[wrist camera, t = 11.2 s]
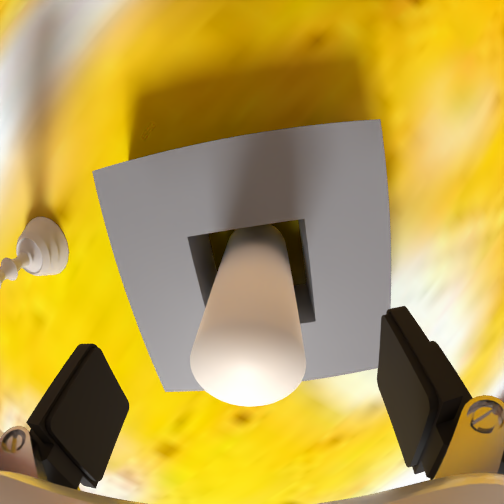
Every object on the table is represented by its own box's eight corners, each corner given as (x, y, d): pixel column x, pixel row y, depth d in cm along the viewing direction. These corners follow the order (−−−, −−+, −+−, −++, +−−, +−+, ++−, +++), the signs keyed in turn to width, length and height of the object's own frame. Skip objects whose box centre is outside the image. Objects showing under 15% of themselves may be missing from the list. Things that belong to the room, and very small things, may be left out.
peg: (221, 226, 21) (176, 326, 10) (282, 216, 21) (300, 311, 10) (233, 280, 23) (206, 409, 11) (290, 272, 22) (309, 399, 11)
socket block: (128, 162, 20) (92, 171, 15) (353, 122, 19) (380, 119, 14) (180, 350, 25) (165, 391, 20) (367, 325, 24) (386, 365, 19)
